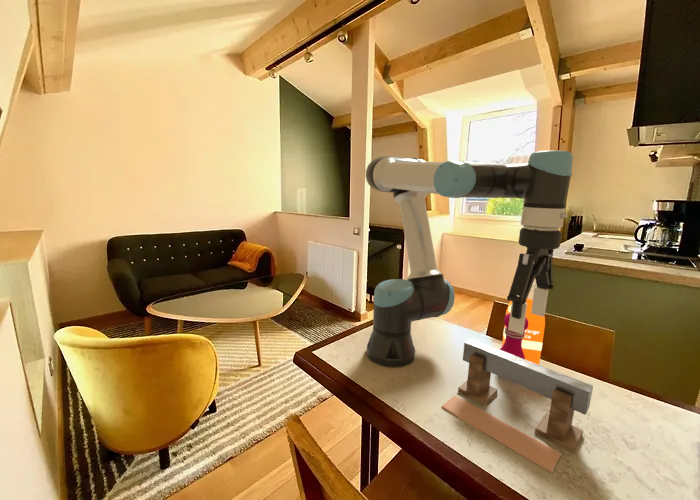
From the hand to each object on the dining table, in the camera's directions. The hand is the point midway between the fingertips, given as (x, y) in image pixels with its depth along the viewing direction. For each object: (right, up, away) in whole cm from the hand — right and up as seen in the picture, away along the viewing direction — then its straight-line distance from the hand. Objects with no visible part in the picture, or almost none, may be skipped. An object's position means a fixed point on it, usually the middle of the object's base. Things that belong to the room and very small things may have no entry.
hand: (527, 322), depth 69 cm
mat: (-8, -23, -1) cm, 24 cm away
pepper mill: (+6, -19, +19) cm, 28 cm away
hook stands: (-1, -22, +4) cm, 22 cm away
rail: (-1, -14, +3) cm, 14 cm away
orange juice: (+13, -18, +26) cm, 35 cm away
